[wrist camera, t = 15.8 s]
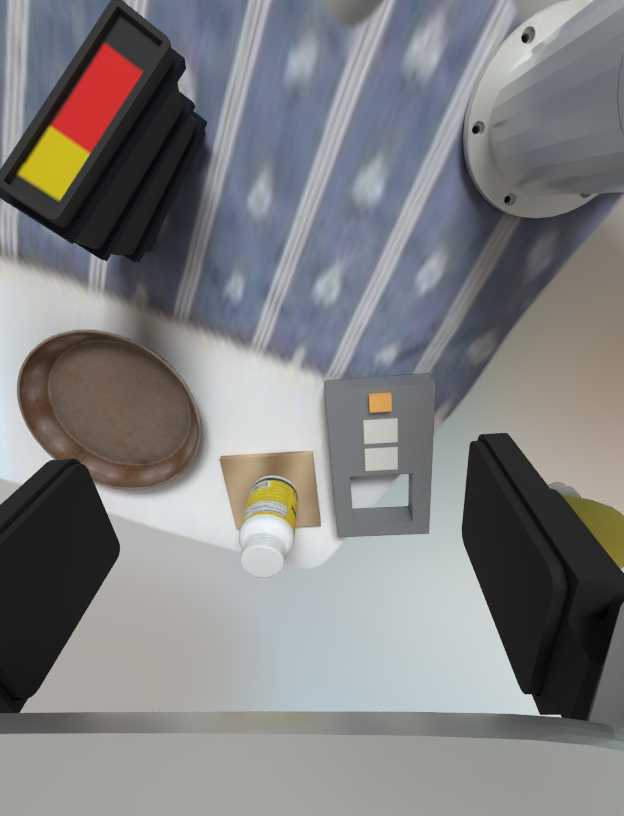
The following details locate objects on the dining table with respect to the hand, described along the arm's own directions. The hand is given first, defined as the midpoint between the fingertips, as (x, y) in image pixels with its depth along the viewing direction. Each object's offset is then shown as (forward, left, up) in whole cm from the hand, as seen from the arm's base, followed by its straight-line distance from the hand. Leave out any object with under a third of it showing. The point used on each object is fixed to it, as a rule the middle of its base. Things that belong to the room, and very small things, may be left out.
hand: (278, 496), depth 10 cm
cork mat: (+7, +22, -28) cm, 37 cm away
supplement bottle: (+7, +22, -28) cm, 36 cm away
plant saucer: (+21, +10, -29) cm, 37 cm away
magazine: (+11, -10, -28) cm, 32 cm away
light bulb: (-24, +24, -28) cm, 44 cm away
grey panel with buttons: (-5, +18, -28) cm, 34 cm away
